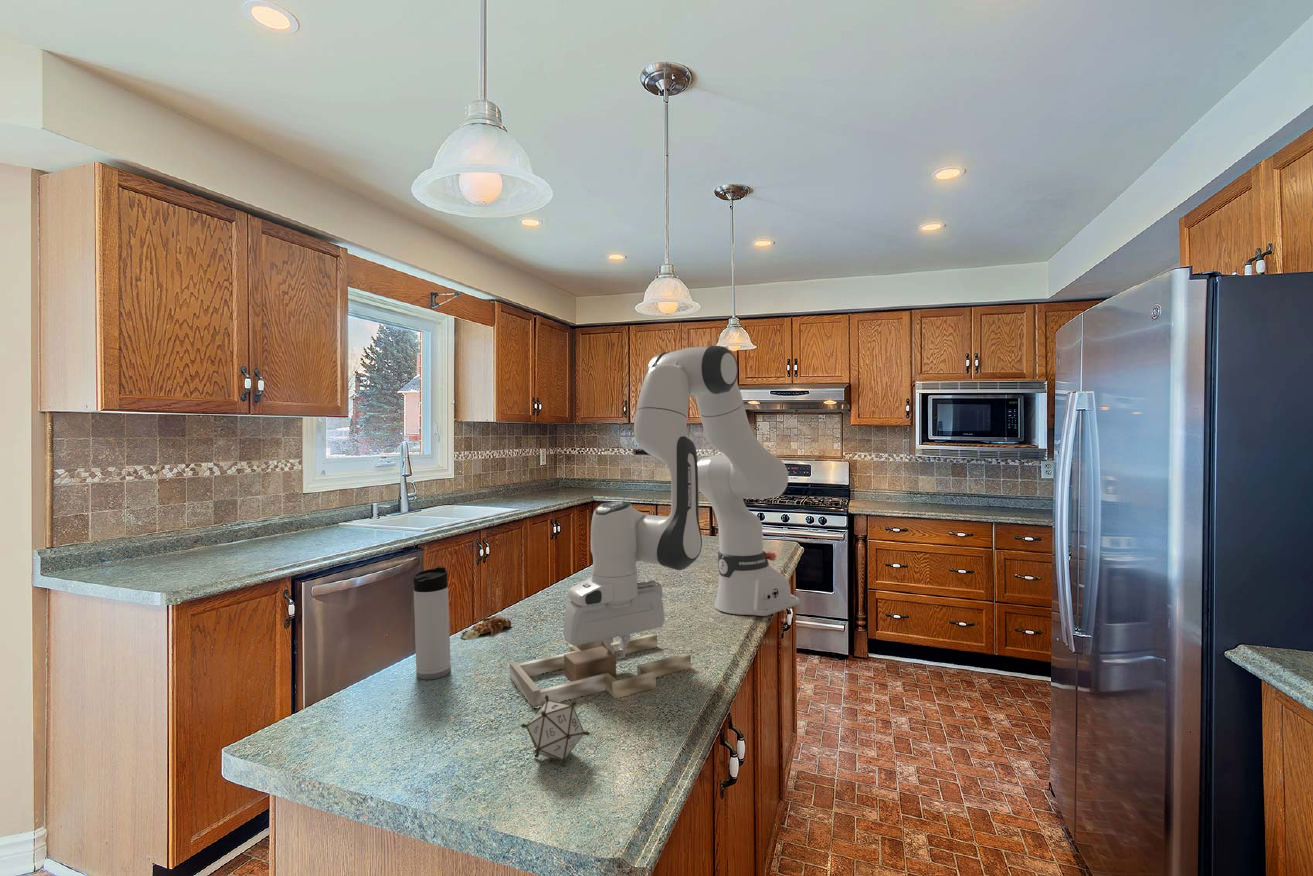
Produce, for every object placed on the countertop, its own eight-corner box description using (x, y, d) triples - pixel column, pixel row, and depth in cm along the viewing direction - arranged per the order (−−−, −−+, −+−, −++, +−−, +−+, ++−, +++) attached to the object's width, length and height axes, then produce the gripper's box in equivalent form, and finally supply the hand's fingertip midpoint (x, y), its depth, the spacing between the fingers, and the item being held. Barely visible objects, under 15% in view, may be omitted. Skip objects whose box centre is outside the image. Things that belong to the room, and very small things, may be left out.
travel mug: (458, 668, 117) (455, 567, 117) (436, 681, 111) (432, 575, 110) (432, 664, 119) (429, 565, 119) (409, 678, 113) (405, 573, 113)
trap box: (645, 639, 130) (645, 625, 130) (702, 675, 111) (702, 659, 111) (504, 671, 115) (503, 656, 115) (541, 719, 95) (541, 700, 95)
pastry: (455, 638, 135) (454, 623, 135) (495, 623, 145) (494, 609, 145) (475, 644, 131) (475, 628, 131) (515, 628, 141) (514, 613, 141)
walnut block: (603, 666, 116) (602, 646, 116) (616, 677, 111) (615, 655, 111) (564, 675, 112) (563, 654, 112) (576, 687, 107) (575, 665, 107)
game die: (546, 779, 85) (528, 708, 90) (601, 754, 86) (580, 685, 91) (526, 781, 77) (507, 703, 82) (586, 753, 78) (564, 678, 83)
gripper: (653, 575, 122) (655, 642, 122) (559, 591, 112) (561, 664, 112) (669, 582, 116) (671, 652, 117) (571, 599, 106) (574, 675, 106)
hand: (616, 658), depth 114 cm, fingers closed
